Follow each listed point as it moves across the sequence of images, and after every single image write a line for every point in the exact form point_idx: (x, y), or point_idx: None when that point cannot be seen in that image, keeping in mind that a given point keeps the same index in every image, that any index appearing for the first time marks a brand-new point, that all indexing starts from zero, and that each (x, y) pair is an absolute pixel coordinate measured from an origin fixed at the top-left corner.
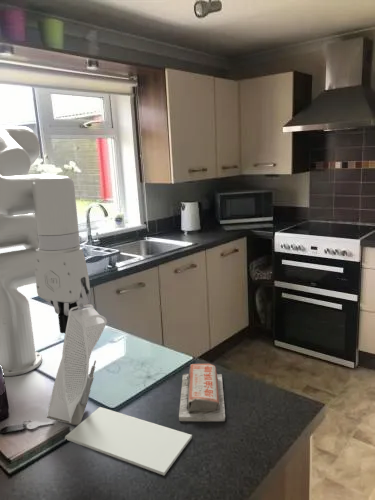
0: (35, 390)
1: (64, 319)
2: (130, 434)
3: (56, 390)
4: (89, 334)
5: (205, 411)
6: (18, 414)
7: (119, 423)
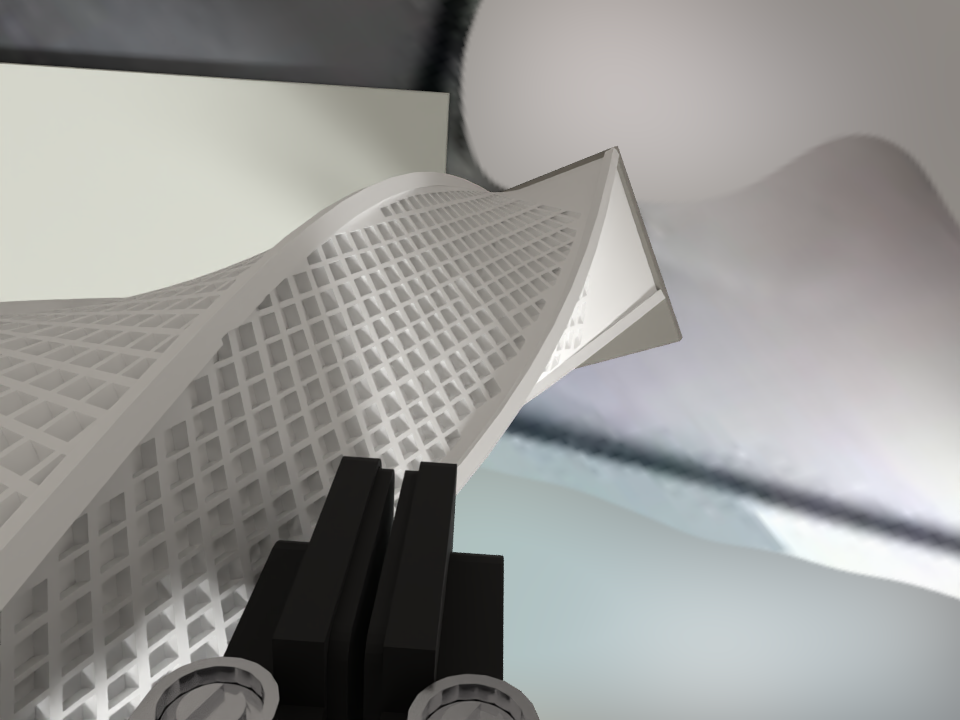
0: (918, 399)
1: (295, 589)
2: (135, 238)
3: (563, 225)
4: None
5: None
6: (868, 176)
7: None
